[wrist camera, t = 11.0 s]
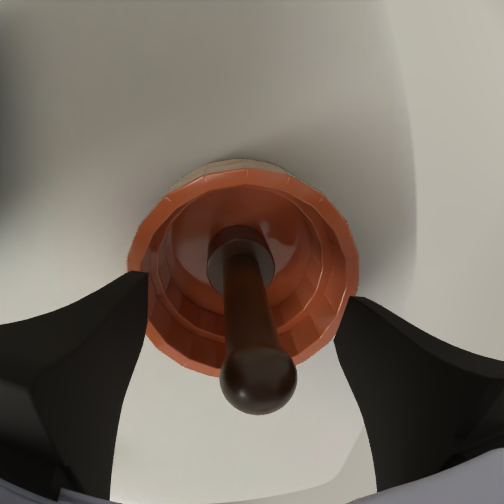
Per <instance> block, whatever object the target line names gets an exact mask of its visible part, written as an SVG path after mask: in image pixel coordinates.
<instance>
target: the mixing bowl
mask: <svg viewBox="0 0 504 504" xmlns="http://www.w3.org/2000/svg"><path fill="white" fill-rule="evenodd" d="M233 225H245V226H249V227H252V228H254V229H256V230H257V231H259V232H260V233H261V234H262V235H263V236H264V238H265V239H266V241H267V244H268V246H269V249H270V251H271V253H272V256H273V258H274V262H275V274H274V277H273V280H272V282H271V284H270V285H269V287H268V288H267V289H266V292H267V296H268V299H269V303H270V306H271V310H272V313H273V317H274V321H275V324H276V328H277V331H278V335H279V338H280V342H281V345H282V348H283V349H284V350H285V351H286V352H287V353H288V354H289V355H290V356H291V358H292V359H293V361H294V364H295V365H297V364H300V363H302V362H304V361H306V360H307V359H308V358H310V357H311V356H312V355H314V354H315V353H316V352H317V351H319V350H320V349H321V348H323V347H324V346H325V345H326V344H328V343H329V342H330V341H331V339H332V338H333V337H334V335H335V334H336V333H337V330H338V327H339V325H340V322H341V319H342V316H343V313H344V311H345V308H346V305H347V302H348V299H349V296H355V295H356V292H357V290H358V281H359V255H358V251H357V248H356V245H355V242H354V239H353V237H352V234H351V231H350V228H349V225H348V224H347V221H346V220H345V219H344V218H343V216H342V215H341V214H340V213H339V212H338V210H337V209H336V208H335V207H334V206H333V204H332V203H331V202H330V201H329V200H328V199H327V197H326V196H325V195H323V194H322V193H321V192H319V191H318V190H316V189H315V188H313V187H312V186H310V185H308V184H307V183H305V182H304V181H302V180H301V179H299V178H297V177H296V176H294V175H292V174H290V173H288V172H287V171H285V170H283V169H281V168H279V167H277V166H276V165H274V164H271V163H266V162H261V161H255V160H249V159H243V158H241V159H239V158H238V159H231V160H225V161H219V162H213V163H209V164H206V165H204V166H202V167H200V168H198V169H196V170H194V171H193V172H191V173H189V174H187V175H185V176H183V177H182V178H181V179H179V180H178V181H177V182H176V183H175V184H174V185H173V186H172V187H171V188H170V189H169V190H168V192H167V193H166V194H165V195H164V196H163V197H162V198H161V199H160V200H159V202H158V203H157V204H156V205H155V206H154V208H153V209H152V210H151V211H150V212H149V214H148V215H147V216H146V217H145V219H144V220H143V221H142V222H141V224H140V225H139V227H138V230H137V232H136V235H135V237H134V240H133V243H132V245H131V248H130V250H129V253H128V256H127V261H126V273H127V272H129V271H131V270H133V271H140V272H147V273H149V282H148V324H147V328H146V333H145V334H146V335H147V337H148V338H149V339H150V340H151V342H152V343H153V344H154V345H155V347H156V348H158V350H160V351H161V352H163V353H164V354H165V355H167V356H168V357H170V358H171V359H173V360H174V361H176V362H177V363H179V364H180V365H182V366H184V367H186V368H188V369H191V370H194V371H197V372H200V373H203V374H206V375H209V376H214V377H220V369H221V366H222V363H223V361H224V359H225V358H226V345H225V322H224V297H223V296H222V295H220V294H219V293H218V292H217V291H216V290H215V289H214V288H213V287H212V286H211V284H210V282H209V280H208V277H207V257H208V248H209V245H210V242H211V240H212V239H213V237H214V236H215V235H216V234H217V233H218V232H219V231H221V230H222V229H224V228H226V227H229V226H233Z"/></svg>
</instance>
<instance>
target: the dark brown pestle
mask: <svg viewBox="0 0 504 504" xmlns="http://www.w3.org/2000/svg"><path fill="white" fill-rule="evenodd" d="M274 274H275V262H274V258H273V256H272V253H271V251H270V249H269V246H268V244H267V241H266V239H265V238H264V236H263V235H262V234H261V233H260V232H259V231H257V230H256V229H254V228H252V227H249V226H245V225H233V226H229V227H226V228H224V229H222V230H221V231H219V232H218V233H217V234H216V235H215V236H214V237H213V239H212V240H211V242H210V245H209V248H208V257H207V277H208V280H209V282H210V284H211V286H212V287H213V288H214V289H215V290H216V291H217V292H218V293H219V294H220V295H222V296H223V297H224V322H225V345H226V358H225V359H224V361H223V363H222V366H221V369H220V377H219V380H220V386H221V389H222V392H223V394H224V396H225V398H226V399H227V400H228V402H229V403H230V404H231V405H232V406H234V407H235V408H236V409H238V410H240V411H242V412H244V413H247V414H252V415H265V414H269V413H272V412H275V411H277V410H279V409H280V408H282V407H283V406H284V405H285V404H286V403H287V402H288V401H289V400H290V399H291V397H292V396H293V394H294V391H295V389H296V385H297V370H296V366H295V364H294V361H293V359H292V358H291V356H290V355H289V354H288V353H287V352H286V351H285V350H284V349H283V348H282V345H281V342H280V338H279V335H278V331H277V328H276V324H275V321H274V317H273V313H272V310H271V306H270V303H269V299H268V296H267V292H266V289H267V288H268V287H269V285H270V284H271V282H272V280H273V277H274Z"/></svg>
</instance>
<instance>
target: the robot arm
mask: <svg viewBox="0 0 504 504" xmlns="http://www.w3.org/2000/svg"><path fill="white" fill-rule="evenodd" d="M148 282H149V273H147V272H140V271H133V270H131V271H129V272H127V273H125V274H124V275H122V276H120V277H119V278H117V279H116V280H114V281H112V282H111V283H109V284H107V285H106V286H104V287H102V288H101V289H99V290H97V291H95V292H93V293H91V294H90V295H88V296H86V297H84V298H82V299H80V300H78V301H76V302H74V303H72V304H70V305H68V306H65V307H63V308H60V309H58V310H55V311H53V312H50V313H47V314H43V315H40V316H37V317H33V318H30V319H27V320H23V321H18V322H13V323H8V324H2V325H0V504H121V503H116V502H112V501H110V485H111V474H112V465H113V456H114V449H115V442H116V436H117V430H118V424H119V419H120V414H121V409H122V404H123V401H124V397H125V394H126V391H127V388H128V385H129V382H130V379H131V376H132V374H133V371H134V368H135V365H136V363H137V360H138V357H139V354H140V352H141V349H142V346H143V341H144V337H145V333H146V328H147V324H148ZM334 344H335V348H336V352H337V355H338V359H339V362H340V365H341V367H342V369H343V372H344V374H345V376H346V379H347V381H348V383H349V385H350V388H351V390H352V392H353V394H354V397H355V399H356V401H357V403H358V406H359V408H360V411H361V414H362V416H363V420H364V423H365V427H366V430H367V434H368V438H369V443H370V447H371V452H372V456H373V462H374V469H375V475H376V484H377V493H375V494H372V495H369V496H365V497H362V498H359V499H356V500H354V501H352V502H349V503H347V504H504V361H500V360H496V359H492V358H488V357H484V356H481V355H477V354H474V353H471V352H468V351H466V350H463V349H460V348H458V347H455V346H453V345H451V344H448V343H446V342H444V341H442V340H440V339H438V338H436V337H434V336H432V335H430V334H428V333H426V332H424V331H422V330H421V329H419V328H417V327H415V326H414V325H412V324H410V323H409V322H407V321H405V320H404V319H402V318H401V317H399V316H397V315H396V314H394V313H392V312H391V311H389V310H387V309H386V308H384V307H383V306H381V305H379V304H377V303H375V302H374V301H372V300H370V299H367V298H365V297H358V296H349V299H348V302H347V305H346V308H345V311H344V313H343V316H342V319H341V322H340V325H339V327H338V330H337V333H336V335H335V338H334Z"/></svg>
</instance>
